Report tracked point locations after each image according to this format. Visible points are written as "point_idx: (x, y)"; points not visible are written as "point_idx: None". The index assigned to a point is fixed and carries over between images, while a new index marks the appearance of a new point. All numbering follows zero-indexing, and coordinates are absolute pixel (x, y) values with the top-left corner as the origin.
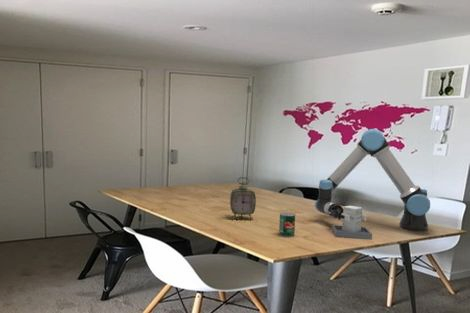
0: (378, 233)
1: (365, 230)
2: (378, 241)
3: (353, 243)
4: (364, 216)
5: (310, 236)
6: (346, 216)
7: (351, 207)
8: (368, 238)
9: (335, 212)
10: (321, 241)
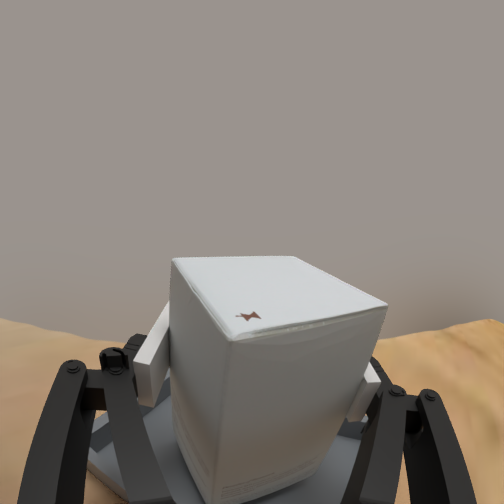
0: (31, 412)
1: (101, 440)
2: None
3: None
4: None
5: (478, 440)
6: None
7: (307, 273)
8: None
9: (434, 429)
10: (436, 389)
